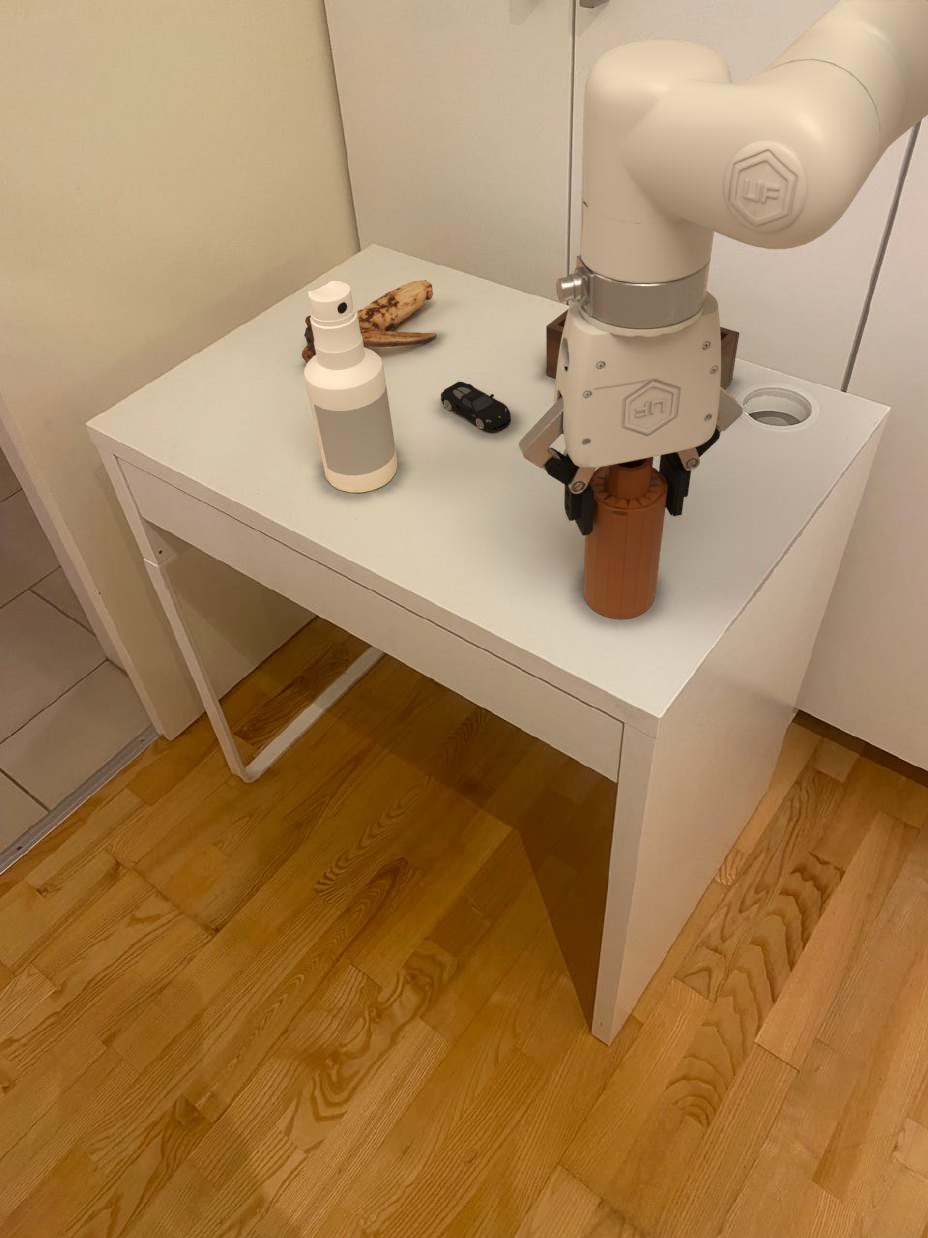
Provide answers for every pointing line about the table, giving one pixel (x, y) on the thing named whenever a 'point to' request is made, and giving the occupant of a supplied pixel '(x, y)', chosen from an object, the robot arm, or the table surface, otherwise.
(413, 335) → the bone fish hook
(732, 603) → the table surface
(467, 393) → the toy car
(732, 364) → the holder
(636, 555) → the bottle
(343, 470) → the spray bottle
